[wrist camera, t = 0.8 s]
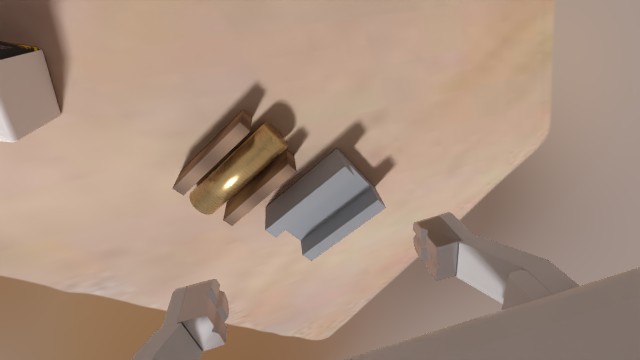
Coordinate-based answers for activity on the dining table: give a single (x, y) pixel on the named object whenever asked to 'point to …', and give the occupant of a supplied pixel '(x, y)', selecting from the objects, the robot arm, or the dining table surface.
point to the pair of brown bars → (255, 188)
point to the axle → (238, 169)
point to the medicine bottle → (24, 91)
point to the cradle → (324, 205)
